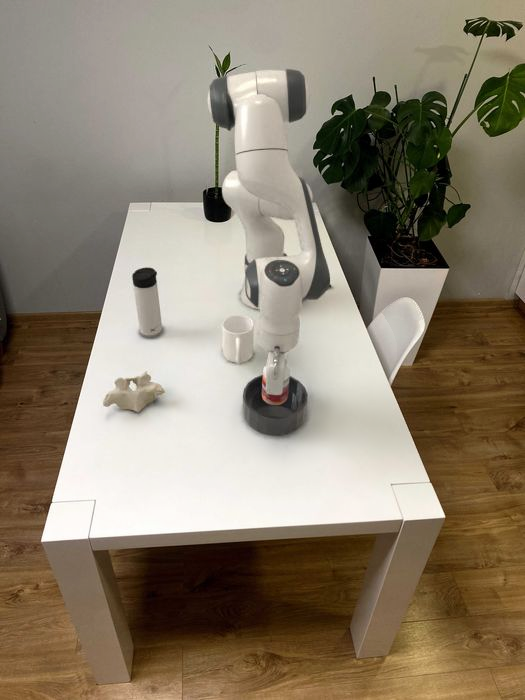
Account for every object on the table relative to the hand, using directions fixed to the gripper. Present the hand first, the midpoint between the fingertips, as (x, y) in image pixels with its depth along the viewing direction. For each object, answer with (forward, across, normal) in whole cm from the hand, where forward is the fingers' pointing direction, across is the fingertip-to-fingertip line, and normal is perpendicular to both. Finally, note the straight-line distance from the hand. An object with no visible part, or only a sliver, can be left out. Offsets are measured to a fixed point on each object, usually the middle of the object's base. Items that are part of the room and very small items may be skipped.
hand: (275, 380), depth 125 cm
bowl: (+10, 0, 0) cm, 11 cm away
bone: (+11, 0, +33) cm, 35 cm away
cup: (+11, +19, +11) cm, 25 cm away
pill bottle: (+5, 0, 0) cm, 5 cm away
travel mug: (+11, +28, +37) cm, 47 cm away
